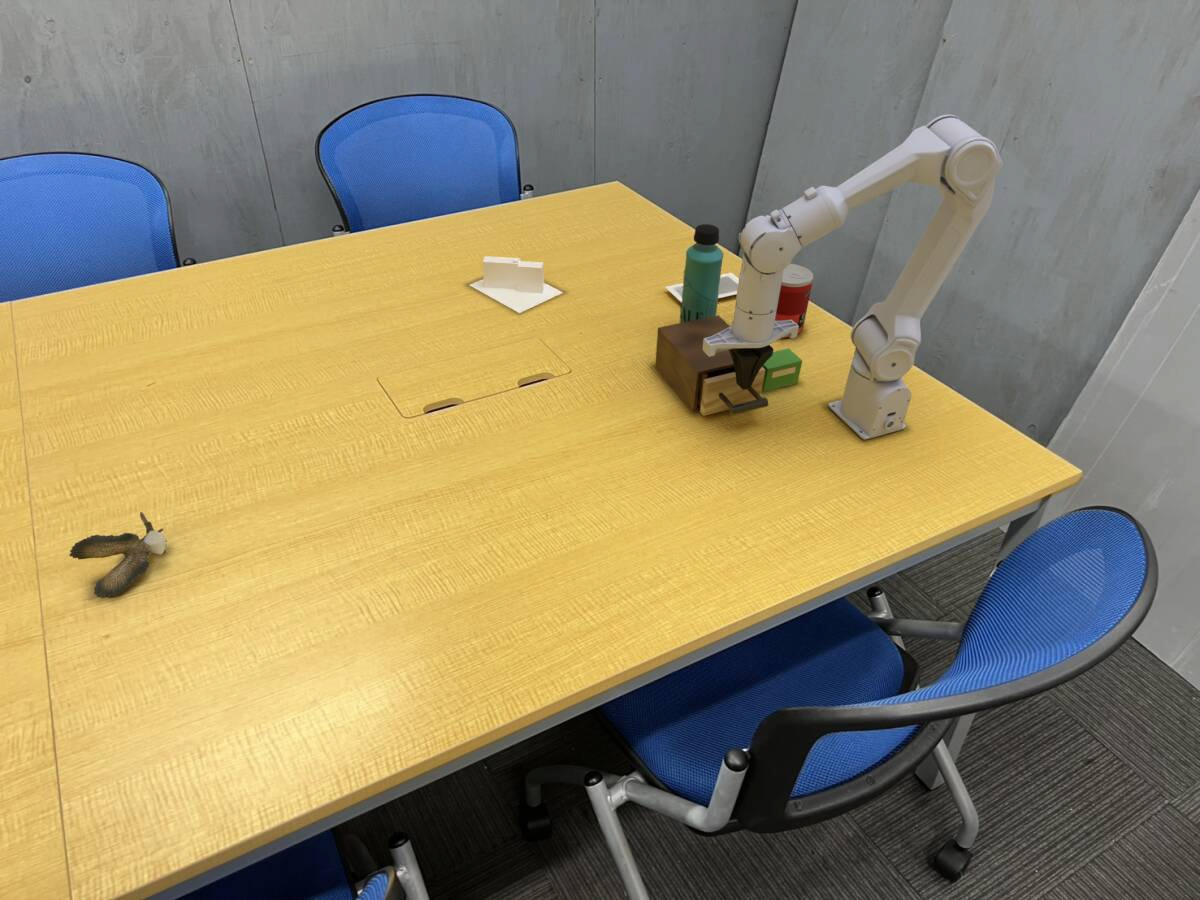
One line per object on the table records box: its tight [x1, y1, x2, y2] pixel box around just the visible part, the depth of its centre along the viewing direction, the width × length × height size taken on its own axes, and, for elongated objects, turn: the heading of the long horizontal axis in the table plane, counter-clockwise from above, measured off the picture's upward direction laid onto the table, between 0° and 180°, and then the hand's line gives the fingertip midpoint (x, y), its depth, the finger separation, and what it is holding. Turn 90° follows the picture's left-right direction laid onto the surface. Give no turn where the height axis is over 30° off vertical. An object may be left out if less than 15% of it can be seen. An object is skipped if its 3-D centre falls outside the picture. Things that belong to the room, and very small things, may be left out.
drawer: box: [697, 367, 769, 417], centre depth 126 cm, size 18×10×6 cm, turn 22°
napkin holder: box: [468, 255, 564, 314], centre depth 153 cm, size 15×11×6 cm
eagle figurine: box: [68, 511, 168, 598], centre depth 97 cm, size 8×7×9 cm
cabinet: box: [654, 314, 734, 413], centre depth 130 cm, size 14×11×8 cm
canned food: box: [775, 263, 814, 339], centre depth 142 cm, size 8×8×11 cm
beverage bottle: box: [678, 223, 724, 323], centre depth 137 cm, size 6×7×20 cm
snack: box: [762, 348, 803, 392], centre depth 131 cm, size 4×6×4 cm, turn 113°
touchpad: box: [664, 272, 739, 304], centre depth 154 cm, size 8×15×2 cm, turn 115°
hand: (743, 385), depth 120 cm, fingers closed
